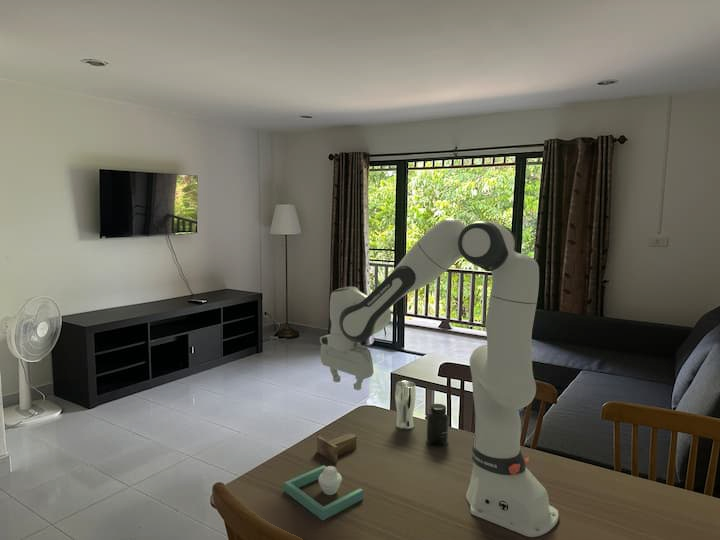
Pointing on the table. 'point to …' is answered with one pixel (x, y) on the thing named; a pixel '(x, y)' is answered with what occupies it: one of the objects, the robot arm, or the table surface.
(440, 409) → the supplement bottle
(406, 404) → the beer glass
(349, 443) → the wooden post on base
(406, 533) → the table surface
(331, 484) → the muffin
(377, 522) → the table surface
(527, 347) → the robot arm
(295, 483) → the frame
